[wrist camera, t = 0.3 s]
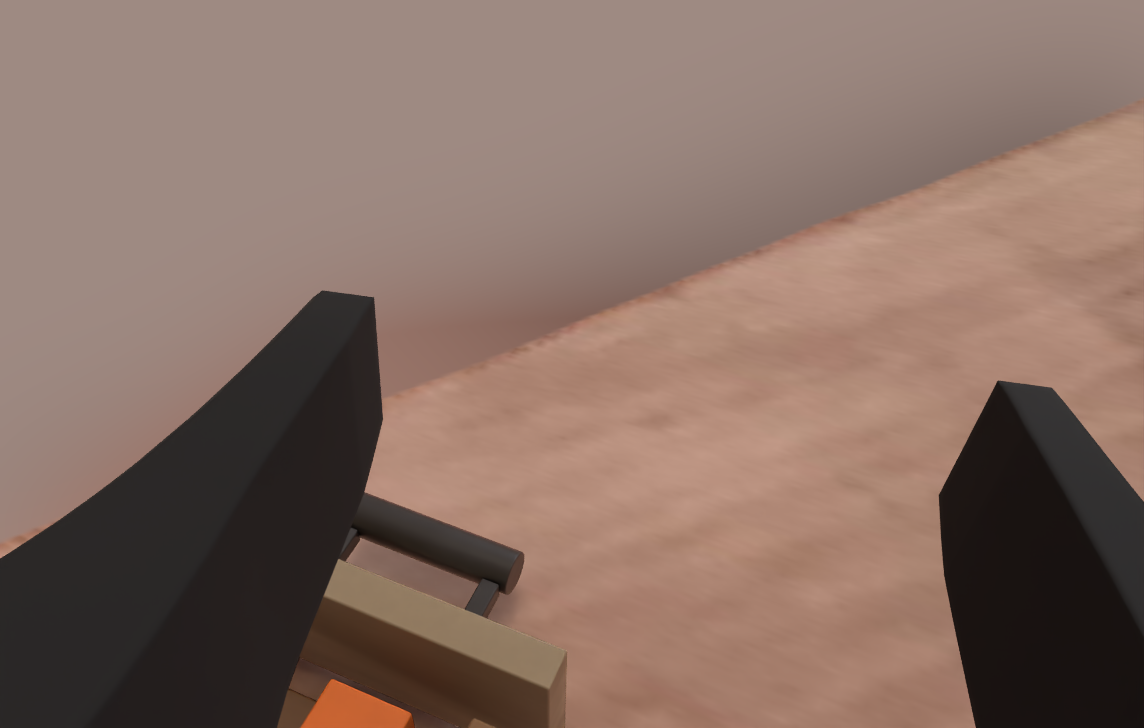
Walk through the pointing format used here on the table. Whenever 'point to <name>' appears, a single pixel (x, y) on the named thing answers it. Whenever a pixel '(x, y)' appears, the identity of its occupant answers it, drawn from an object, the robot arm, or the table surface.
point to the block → (354, 710)
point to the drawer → (432, 631)
